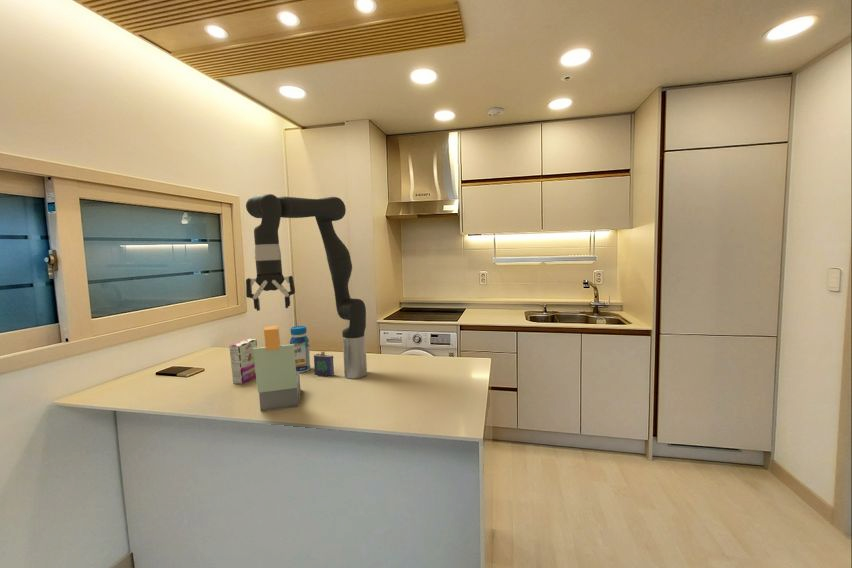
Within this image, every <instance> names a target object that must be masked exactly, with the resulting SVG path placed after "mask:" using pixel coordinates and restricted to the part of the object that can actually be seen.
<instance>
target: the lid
mask: <svg viewBox="0 0 852 568" xmlns="http://www.w3.org/2000/svg"><path fill="white" fill-rule="evenodd" d="M263 333H264V335H263V336H264V342H265V343H264V345H265V346H260V347H258V346H257V348H253V355H254V363H255V372H256V377H255V379H256V386H257V388H256V389H257V393H258V394H259V393H260V392H268V391H276V390H284V389H292V388H297V376H296V364H295V352H294V344H290V343H289V344H281V340H280V339H281V338H280V329H279V325H269V326H264V329H263Z"/></svg>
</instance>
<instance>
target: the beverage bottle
mask: <svg viewBox="0 0 852 568" xmlns="http://www.w3.org/2000/svg"><path fill="white" fill-rule="evenodd" d="M307 333H308V332H307V326H306V325H294V326H291V327H290V334H291V337H290V340H289V344H294V352H295V364H296V372H299V374H301V373H305V371H306V372H308V371H310V370H311V359H310V358H311V357H310V349H311V348H310V344H309V342H310V339H309V338H308V335H307Z"/></svg>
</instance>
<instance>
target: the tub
mask: <svg viewBox="0 0 852 568" xmlns="http://www.w3.org/2000/svg"><path fill="white" fill-rule="evenodd" d="M300 374H301V373H299V372H296V376H297V388H292V389H284V390H276V391H268V392H260V393H258V397H259V409H260V411H263V412H269V410H270V411H275V410H276V409H277V410H283V408H284V409H289V408H290V407H292V408H297V407H299V404H300V403H299V402H300V396H301V377H300ZM290 409H291V408H290ZM277 410H276V411H277Z"/></svg>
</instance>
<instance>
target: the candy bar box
mask: <svg viewBox="0 0 852 568" xmlns="http://www.w3.org/2000/svg"><path fill="white" fill-rule="evenodd" d="M257 347H258V342H257V338H247V339H243V340H241V341H238V342H236V343H233V344H230V345H229V355H230V357H229V358H230V365H231V375H232V384H234V385H244V384H246V383H247V382H249V381H251V380H252V379H254V378H255V379H256V372H255V363H254V355H253V348H257ZM245 382H246V383H245Z"/></svg>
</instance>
